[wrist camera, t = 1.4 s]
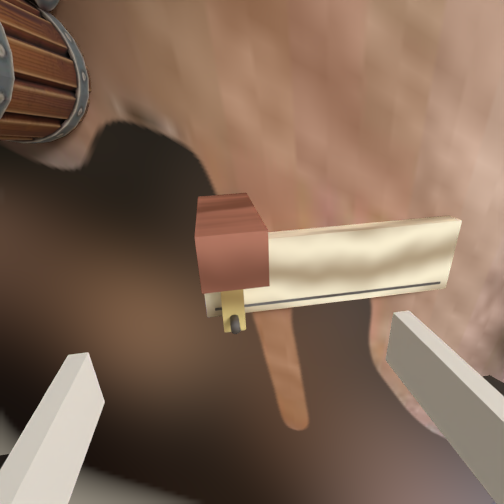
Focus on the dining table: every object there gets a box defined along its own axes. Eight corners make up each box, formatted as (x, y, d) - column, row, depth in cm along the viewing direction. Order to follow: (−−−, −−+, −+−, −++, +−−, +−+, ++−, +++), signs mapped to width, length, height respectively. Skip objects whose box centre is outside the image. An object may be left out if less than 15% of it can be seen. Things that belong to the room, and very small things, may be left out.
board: (198, 238, 33) (198, 245, 31) (449, 215, 37) (462, 220, 35) (207, 307, 37) (207, 318, 35) (434, 281, 40) (445, 288, 38)
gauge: (198, 196, 31) (194, 237, 20) (246, 192, 32) (268, 230, 21) (211, 313, 37) (214, 394, 26) (252, 308, 37) (272, 385, 26)
